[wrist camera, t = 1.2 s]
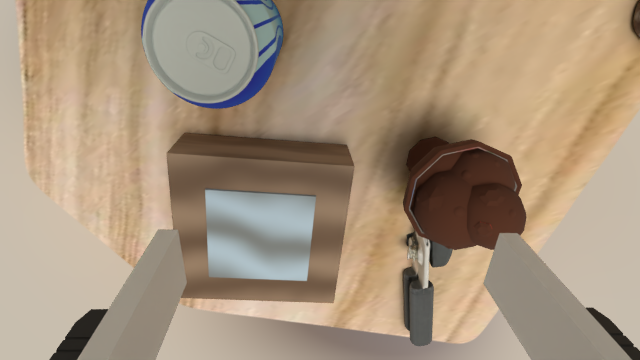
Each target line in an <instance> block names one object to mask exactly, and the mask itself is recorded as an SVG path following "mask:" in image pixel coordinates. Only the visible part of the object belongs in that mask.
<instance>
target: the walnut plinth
mask: <svg viewBox="0 0 640 360" xmlns="http://www.w3.org/2000/svg"><path fill="white" fill-rule="evenodd" d="M167 164H168V175H169V186H170V197H171V208H172V219H173V230H178V232H179V239H180V245H181V251H182V257H183V263H184V269H185V275H186V281H187V284H186V286H185V288H184V291H183V293H182V296H181V298H202V299H230V300H259V301H288V302H316V303H334V297H335V290H336V284H337V277H338V271H339V264H340V257H341V251H342V244H343V238H344V231H345V225H346V218H347V212H348V205H349V199H350V192H351V186H352V179H353V173H354V164H353V161H352V158H351V155H350V152H349V149H348V146H347V145H338V144H325V143H312V142H299V141H285V140H272V139H259V138H246V137H232V136H219V135H206V134H193V133H184V134H183V135H182V136H181V137H180V139H179V140H178V141H177V142H176V143H175V144H174V145H173V146H172V148H171V149H170V150H169V151H168V152H167Z"/></svg>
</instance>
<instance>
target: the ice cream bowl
mask: <svg viewBox="0 0 640 360" xmlns="http://www.w3.org/2000/svg"><path fill="white" fill-rule="evenodd" d="M406 165H407V166H408V168H409V170H410V174H409V179H408V183H407V187H406V192H405V196H404V200H403V205H404V211H405V213H406V214H407V216H408V218H409V220H410V222H411V223H412V225H413V227H414V229H415V231H416V232H417V234H418V236H420V237H423V238H426V239H429V240H431V241H433V242H436V243H438V244H441V245H443V246H445V247H446V248H448V249H454V250H457V249H462V248H468V247H473V246H476V245H479V246H482V247H485V248H488V249H491V250H493V249H495V246H496V243H497V240H498V237H499V233H518V234H519V235H521V234H522V232H523V231H524V227H525V222H526V212H525V209H524V206H523V204H522V201H521V199H520V197H519V196H518V194H519V192H520V189H521V186H522V184H521V182H520V179H519V176H518V173H517V171H516V168H515V165H514V162H513V160H512V157H511V156H510V155H508V154H506V153H503V152H501V151H499V150H497V149H494V148H492V147H490V146H488V145H485V144H483V143H481V142H478V141H475V140H466V141H461V142H456V143H452V144H449V143H448V142H446V141H444V140H441V139H439V138H437V137H433V138H428V139H424V140H420V141H419V142H418V143H417V144H416V145H415V146H414V147H413V148H412V149H411V150H410V151H409V155H408V160H407V164H406Z"/></svg>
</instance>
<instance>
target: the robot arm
mask: <svg viewBox="0 0 640 360" xmlns="http://www.w3.org/2000/svg"><path fill="white" fill-rule="evenodd" d="M186 284H187V281H186V275H185V269H184V263H183V257H182V251H181V245H180V239H179V232H178V230H158V231H157V232H156V234H155V236H154V237H153V239H152V240H151V242H150V244H149V245H148V247H147V248H146V250H145V252H144V253H143V255H142V256H141V258H140V260H139V261H138V263H137V264H136V266H135V268H134V269H133V271H132V273H131V274H130V276H129V278H128V279H127V280H126V282H125V284H124V285H123V287H122V289H121V290H120V292H119V293H118V295H117V297H116V298H115V300H114V302H113V303H112V305H111V306H110V308H109V309H103V310H101V309H96V310H93V309H91V310H90V311H89V312H88V313H86V314H85V315H84V316H83V317H82V318H81V319H79V320H78V321H77V322H76V323H75V324H74V326H73V327H72V328H71V330H70V332H69V333H68V334H67V336H66V337H65V340H63V341H62V343H61V344H60V346H59V347H58V348H57V351H56V353H54V354H53V355H52V357H51V358H50V360H155V359H156V357H157V355H158V352H159V350H160V347H161V345H162V342H163V340H164V337H165V335H166V333H167V330H168V327H169V325H170V323H171V320H172V318H173V315H174V313H175V311H176V308H177V306H178V303H179V301H180V298H181V296H182V293H183V291H184V288H185V286H186ZM483 284H484V285H485V287H486V288H487V290H488V292H489V293H490V295H491V296H492V298H493V299H494V301H495V303H496V304H497V306H498V307H499V309H500V311H501V312H502V314H503V315H504V317H505V318H506V320H507V322H508V323H509V325H510V327H511V328H512V330H513V331H514V333H515V335H516V336H517V338H518V339H519V341H520V342H521V344H522V346H523V347H524V349H525V350H526V352H527V354H528V355H529V357H530V358H531V360H640V351H639V350H638V349H637V348H636V347H634V346H633V345H634V344H633V343H632V342H631V341H630V340H629V339H628V338H627V337H626V336H623V333H622V332H621V331H620V330H619V329H618V328H617V326H616V325H615V324H614V323H613V322H612V321H611V320H610V319H608V318H607V317H605V316H604V315H603V314H601V313H600V312H598V311H597V310H595V309H594V308H585V307H584V306H583V305H582V304H581V303H580V302H579V301H578V300H577V298H576V297H575V296H574V295H573V294H572V293H571V292H570V291H569V289H568V288H567V287H566V286H565V285H564V284H563V283H562V282H561V281H560V280H559V279H558V277H557V276H556V275H555V274H554V273H553V272H552V271H551V270H550V269H549V268H548V266H547V265H546V264H545V263H544V262H543V261H542V260H541V259H540V258H539V256H538V255H537V254H536V253H535V252H534V251H533V250H532V249H531V248H530V246H529V245H528V244H527V243H526V242H525V241H524V240H523V239H522V238H521V237H520V235H519V234H518V233H499V237H498V240H497V243H496V246H495V249H494V252H493V255H492V258H491V262H490V265H489V268H488V271H487V274H486V277H485V280H484V283H483Z"/></svg>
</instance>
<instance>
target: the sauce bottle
mask: <svg viewBox="0 0 640 360" xmlns="http://www.w3.org/2000/svg"><path fill="white" fill-rule="evenodd" d="M633 25H634V30H635V32H636V33H637V34H638V36H639V37H640V1H639V3H638V4H637V7H636V11H635V14H634V22H633Z"/></svg>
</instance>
